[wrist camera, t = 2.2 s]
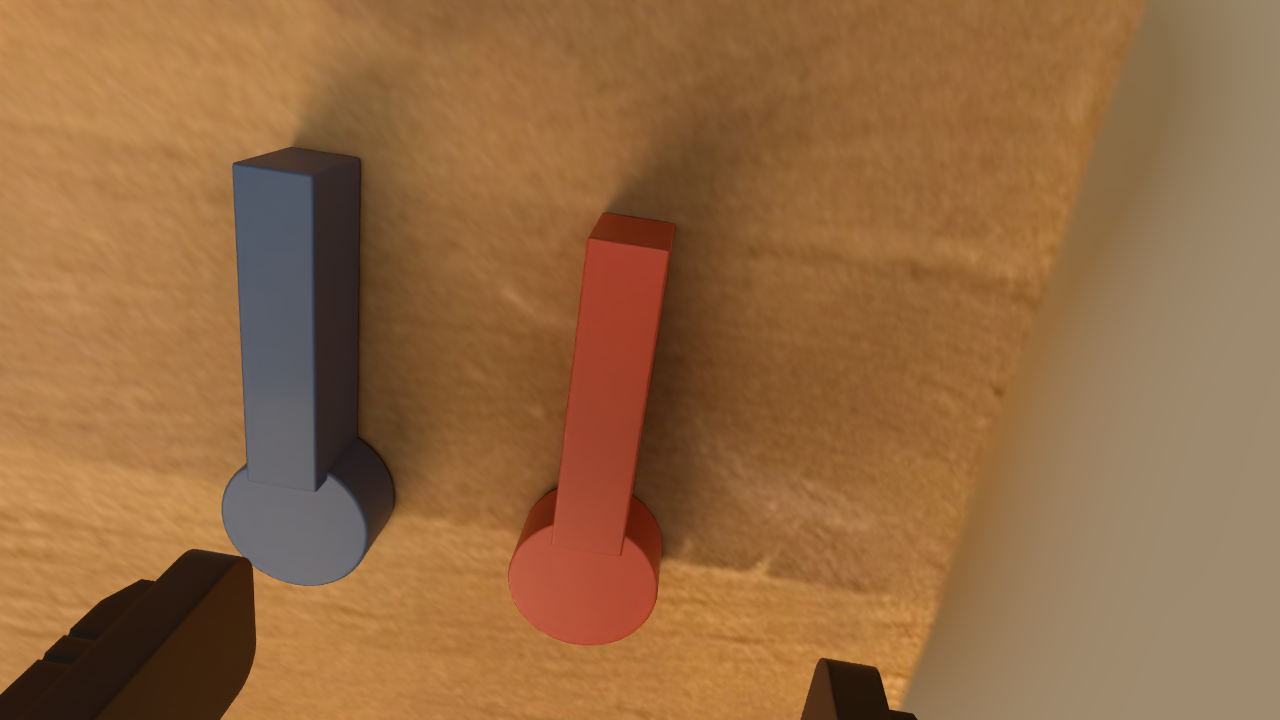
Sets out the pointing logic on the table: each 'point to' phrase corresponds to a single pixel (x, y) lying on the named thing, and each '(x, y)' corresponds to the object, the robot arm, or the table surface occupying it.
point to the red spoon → (601, 452)
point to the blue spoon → (301, 372)
